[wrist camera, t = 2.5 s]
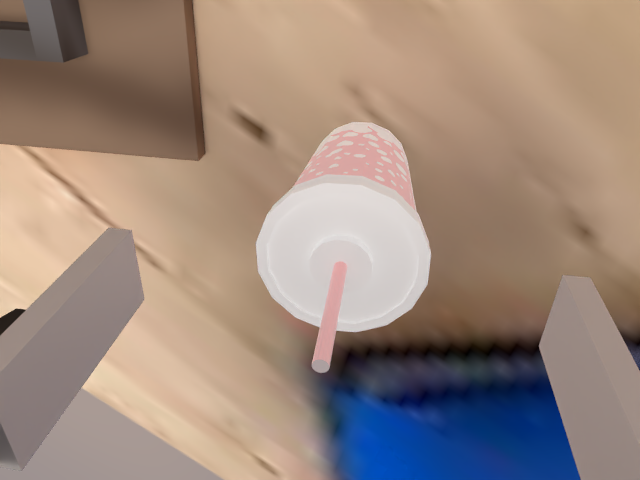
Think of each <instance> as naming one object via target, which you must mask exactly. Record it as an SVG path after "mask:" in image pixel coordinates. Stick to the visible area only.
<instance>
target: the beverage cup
mask: <svg viewBox="0 0 640 480" xmlns="http://www.w3.org/2000/svg"><path fill="white" fill-rule="evenodd" d="M256 253H257V264H258V273H259V274H260V276H261V278H262V280H263V282H264V283H265V285H266V287H267V289H268V291H269V293H270V294H271V296H272V298H273V299H274V300H276V301H277V302H278V303H279V304H280V305H281V306H283V307H284V308H285V309H286V310H287V311H288V312H290V313H291V314H292V315H293V316H294V317H295V318H298V319H300V320H303V321H305V322H307V323H310V324H312V325H315V326H317V327H320V330H319V334H318V339H317V343H316V347H315V352H314V356H313V361H312V368H313V369H314V370H315V371H316V372H319V373H324V372H327V371H328V370H329V367H330V361H331V356H332V350H333V345H334V339H335V334H336V331H347V332H360V331H364V330H368V329H372V328H377V327H381V326H385V325H388V324H389V323H391V322H392V321H394V320H395V319H397V318H398V317H400V316H401V315H403V314H404V313H406V312H407V311H409V310H410V309H412V307H413V306H414V304H415V303H416V301H417V300H418V298H419V297H420V295H421V294H422V292H423V291H424V289H425V287H426V286H427V284H428V277H429V268H430V259H431V250H430V247H429V241H428V238H427V235H426V233H425V230H424V227H423V225H422V222H421V219H420V216H419V214H418V213H417V212H416V206H415V200H414V195H413V189H412V183H411V178H410V172H409V166H408V161H407V158H406V155H405V152H404V149H403V147H402V144H401V143H400V142H399V141H398V139H397V138H396V137H395V136H394V135H393V134H392V133H391V132H390V131H389V130H387V129H385V128H383V127H380V126H378V125H376V124H374V123H368V122H351V123H349V124H346V125H343V126H341V127H338V128H335V129H334V130H333V131H332V132H331V133H330V134H329V135H328V136H327V137H326V138H325V139H324V140H323V141H322V142H321V144H320V145H319V147H318V148H317V150H316V151H315V153H314V155H313V156H312V158H311V159H310V161H309V162H308V164H307V166H306V167H305V169H304V170H303V172H302V173H301V175H300V177H299V178H298V180H297V181H296V183H295V184H294V186H293V187H292V189H290V190H289V191H288V192H287V193H286V194H285V195H284V196H283V197H282V198H281V199H280V200H278V201H277V202H276V203H275V204H274V205H273V206H272V208H271V210H270V211H269V212H268V214H267V216H266V218H265V221H264V223H263V226H262V229H261V231H260V234H259V236H258V239H257V241H256Z"/></svg>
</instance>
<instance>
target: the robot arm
mask: <svg viewBox="0 0 640 480" xmlns="http://www.w3.org/2000/svg"><path fill="white" fill-rule="evenodd" d="M143 301H144V294H143V289H142V283H141V278H140V273H139V267H138V262H137V256H136V251H135V246H134V240H133V235H132V230H126V229H116V228H108V229H107V230H106V231H105V232H104V233H103V234H102V235H101V236H100V237H99V238H98V239H97V240H96V241H95V242H94V243H93V244H92V245H91V246H90V247H89V248H88V249H87V250H86V251H85V252H84V253H83V254H82V255H81V256H80V257H79V258H78V259H77V260H76V261H75V262H74V263H73V264H72V265H71V266H70V267H69V268H68V269H67V270H66V271H65V272H64V273H63V274H62V275H61V276H60V277H59V278H58V279H57V280H56V281H55V282H54V283H53V284H52V285H51V286H50V287H49V288H48V289H47V290H46V291H45V292H44V293H43V294H42V295H41V296H40V297H39V298H38V299H37V300H36V301H35V302H34V303H33V304H32V305H31V306H30V307H29V308H28V309H27V310H23V309H15V310H13V311H11V312H10V313H8V314H6V315H4V316H3V317H1V318H0V468H6V469H13V470H18V471H22V470H23V469H24V467H25V466H26V465H27V463H28V462H29V460H30V459H31V457H32V456H33V455H34V453H35V452H36V450H37V449H38V448H39V446H40V445H41V443H42V442H43V440H44V439H45V438H46V436H47V435H48V434H49V432H50V431H51V429H52V428H53V427H54V425H55V424H56V422H57V421H58V419H59V418H60V417H61V415H62V414H63V413H64V411H65V410H66V408H67V407H68V406H69V404H70V403H71V401H72V400H73V399H74V397H75V396H76V394H77V393H78V392H79V390H80V389H81V387H82V386H83V385H84V383H85V382H86V380H87V379H88V378H89V376H90V375H91V373H92V372H93V371H94V369H95V368H96V366H97V365H98V364H99V362H100V361H101V359H102V358H103V357H104V355H105V354H106V352H107V351H108V350H109V348H110V347H111V345H112V344H113V343H114V341H115V340H116V338H117V337H118V336H119V334H120V333H121V331H122V330H123V329H124V327H125V326H126V324H127V323H128V322H129V320H130V319H131V317H132V316H133V315H134V313H135V312H136V310H137V309H138V308H139V306H140V305H141V303H142V302H143ZM539 348H540V351H541V355H542V358H543V361H544V364H545V367H546V370H547V374H548V377H549V380H550V383H551V386H552V390H553V393H554V396H555V399H556V402H557V405H558V409H559V412H560V415H561V418H562V421H563V424H564V428H565V431H566V434H567V437H568V440H569V443H570V447H571V450H572V453H573V456H574V459H575V462H576V466H577V469H578V472H579V475H580V478H581V480H640V371H639V369H638V367H637V365H636V363H635V361H634V359H633V358H632V356H631V354H630V352H629V350H628V348H627V346H626V344H625V342H624V340H623V338H622V337H621V335H620V333H619V331H618V329H617V327H616V325H615V323H614V321H613V319H612V318H611V316H610V314H609V312H608V310H607V308H606V306H605V304H604V302H603V300H602V299H601V297H600V295H599V293H598V291H597V289H596V287H595V285H594V283H593V281H592V280H591V278H589V277H579V276H570V275H563V276H562V279H561V282H560V284H559V287H558V290H557V293H556V296H555V299H554V302H553V305H552V308H551V311H550V314H549V317H548V320H547V323H546V326H545V329H544V332H543V335H542V338H541V341H540V344H539Z"/></svg>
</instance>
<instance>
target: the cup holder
mask: <svg viewBox="0 0 640 480" xmlns="http://www.w3.org/2000/svg"><path fill="white" fill-rule="evenodd" d="M0 144H9V145H21V146H32V147H44V148H55V149H67V150H78V151H90V152H101V153H113V154H124V155H136V156H147V157H159V158H171V159H182V160H194V161H199V160H200V159H201V158H202V157H203V155H204V154H205V147H204V135H203V123H202V112H201V100H200V88H199V77H198V65H197V53H196V42H195V30H194V18H193V7H192V0H0Z"/></svg>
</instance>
